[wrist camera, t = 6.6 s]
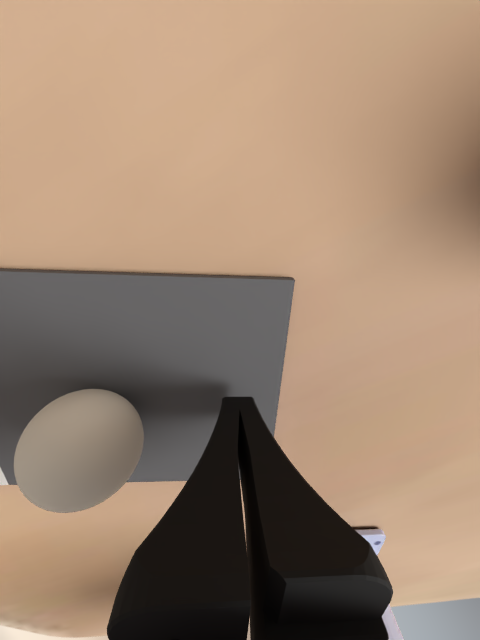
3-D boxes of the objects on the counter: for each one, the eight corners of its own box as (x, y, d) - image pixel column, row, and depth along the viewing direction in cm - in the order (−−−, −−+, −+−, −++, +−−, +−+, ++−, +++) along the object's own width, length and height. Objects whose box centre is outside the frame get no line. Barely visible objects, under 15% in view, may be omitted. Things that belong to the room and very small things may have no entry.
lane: (266, 472, 16) (268, 478, 15) (-195, 482, 14) (-206, 489, 14) (292, 277, 11) (294, 279, 10) (-413, 256, 9) (-440, 258, 9)
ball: (168, 457, 13) (81, 559, 9) (107, 411, 14) (15, 485, 11) (162, 400, 10) (40, 515, 7) (89, 352, 12) (-38, 426, 8)
